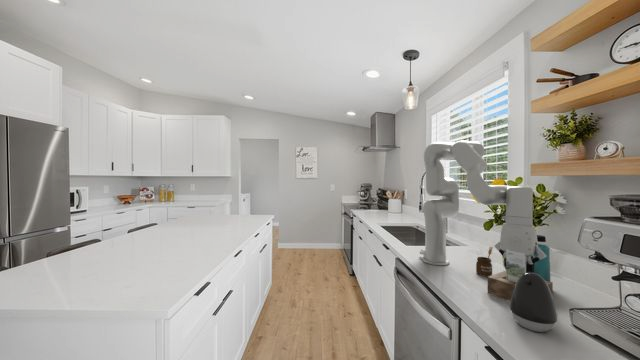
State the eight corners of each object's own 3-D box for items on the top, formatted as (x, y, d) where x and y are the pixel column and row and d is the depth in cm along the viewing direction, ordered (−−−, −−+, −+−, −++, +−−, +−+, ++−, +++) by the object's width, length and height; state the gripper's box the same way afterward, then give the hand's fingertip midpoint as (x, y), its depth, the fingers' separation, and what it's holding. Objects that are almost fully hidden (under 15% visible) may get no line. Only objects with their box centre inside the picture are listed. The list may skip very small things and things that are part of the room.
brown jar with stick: (473, 272, 116) (473, 245, 116) (486, 271, 116) (486, 245, 116) (481, 277, 110) (481, 248, 110) (496, 276, 111) (496, 248, 111)
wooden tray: (487, 293, 94) (487, 276, 94) (506, 285, 101) (506, 270, 101) (534, 309, 82) (534, 291, 82) (552, 299, 89) (552, 282, 89)
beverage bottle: (554, 291, 96) (554, 237, 96) (534, 289, 97) (534, 236, 97) (543, 284, 102) (543, 234, 102) (524, 283, 104) (524, 233, 104)
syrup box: (531, 290, 91) (531, 249, 91) (524, 294, 88) (524, 252, 88) (512, 285, 96) (512, 246, 96) (505, 288, 93) (505, 248, 93)
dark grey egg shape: (503, 324, 74) (503, 271, 74) (517, 313, 80) (517, 264, 80) (550, 342, 66) (550, 282, 66) (561, 329, 72) (561, 274, 72)
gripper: (487, 218, 97) (487, 266, 98) (544, 225, 83) (544, 282, 83) (497, 217, 101) (497, 263, 101) (554, 223, 86) (554, 277, 86)
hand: (518, 271), depth 92 cm, fingers closed on syrup box, 5 cm apart
